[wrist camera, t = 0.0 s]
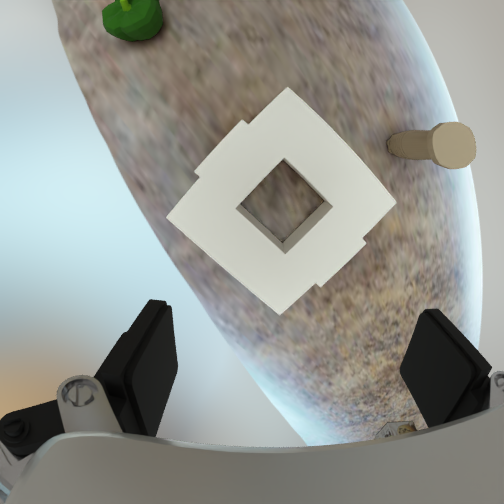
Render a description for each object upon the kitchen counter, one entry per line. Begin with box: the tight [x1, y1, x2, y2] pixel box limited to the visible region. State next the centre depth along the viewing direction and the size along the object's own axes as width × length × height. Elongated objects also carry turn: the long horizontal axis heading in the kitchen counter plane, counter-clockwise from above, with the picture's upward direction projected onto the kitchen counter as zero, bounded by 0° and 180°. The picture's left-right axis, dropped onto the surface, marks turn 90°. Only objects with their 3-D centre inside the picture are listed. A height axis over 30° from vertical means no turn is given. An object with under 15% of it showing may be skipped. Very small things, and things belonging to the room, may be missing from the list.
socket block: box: [166, 87, 397, 315], centre depth 37 cm, size 22×22×5 cm
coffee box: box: [376, 421, 417, 439], centre depth 48 cm, size 9×6×16 cm
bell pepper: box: [102, 0, 163, 42], centre depth 26 cm, size 8×8×10 cm
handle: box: [386, 122, 476, 169], centre depth 29 cm, size 5×6×15 cm
